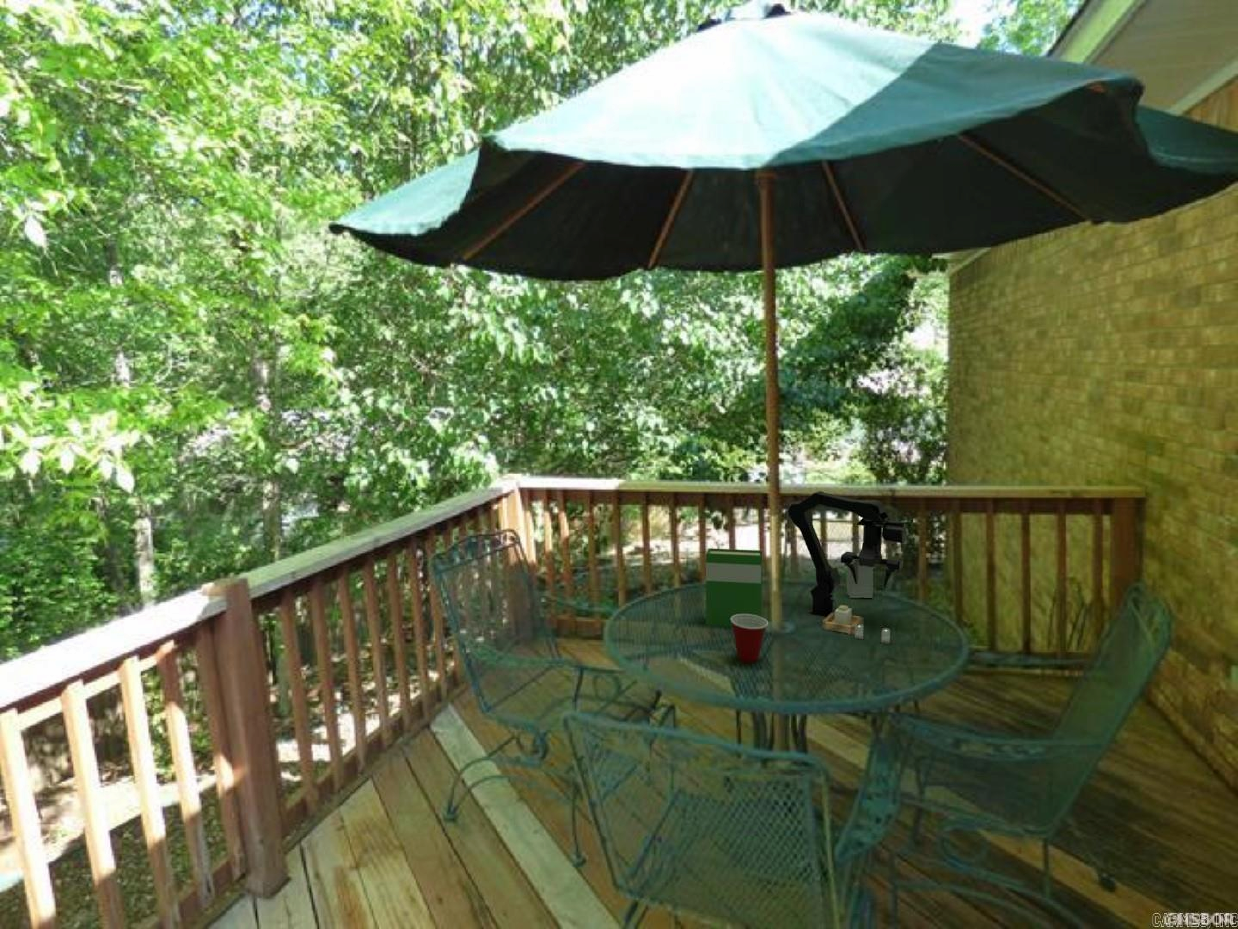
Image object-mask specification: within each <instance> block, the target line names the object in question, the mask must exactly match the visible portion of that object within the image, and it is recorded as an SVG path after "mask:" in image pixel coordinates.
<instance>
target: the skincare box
mask: <svg viewBox="0 0 1238 929" xmlns="http://www.w3.org/2000/svg"><path fill="white" fill-rule="evenodd" d="M856 553H857V556H859V553H860V552H856ZM873 578H874V567H868V566H860V565H859V562H858V583H857V584H855V581H854V578H853V575H852V572H851V570H850V568H849V567H848V566H846V594H847V596H848V595H849V596H848V598H849V597H850V598H859V597H864V598H872V599H873V594H874V593H873V592H874V591H873V590H874V589H873V588H874V587H873V586H874V585H873V582H874V580H873ZM850 598H849V599H850Z"/></svg>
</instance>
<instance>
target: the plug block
mask: <svg viewBox="0 0 1238 929" xmlns="http://www.w3.org/2000/svg"><path fill="white" fill-rule="evenodd" d="M852 610H853V608H849V606H848V605H843V604H840V605H839V606H838V607H837V608H836V609H835V611H834V613H835V622H834V623H838V624H844V625H850V624H851V615H852Z"/></svg>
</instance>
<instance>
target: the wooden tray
mask: <svg viewBox="0 0 1238 929" xmlns="http://www.w3.org/2000/svg"><path fill="white" fill-rule="evenodd" d="M834 622H835V612H833V613H831V614H830V615H829V616H826V617H825V618H824V619H823V620H822V624H821V625H822V626H821V628H822V627H825V628H826V629H829V630H834V631H839V632H846V633H848V634H847V635H850V634H851V635H854V636H855V625H856V624H862V625H863V626H864V617H862V616H859V615H853V614H851V624H850V625H844V624H838V623H834Z"/></svg>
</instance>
